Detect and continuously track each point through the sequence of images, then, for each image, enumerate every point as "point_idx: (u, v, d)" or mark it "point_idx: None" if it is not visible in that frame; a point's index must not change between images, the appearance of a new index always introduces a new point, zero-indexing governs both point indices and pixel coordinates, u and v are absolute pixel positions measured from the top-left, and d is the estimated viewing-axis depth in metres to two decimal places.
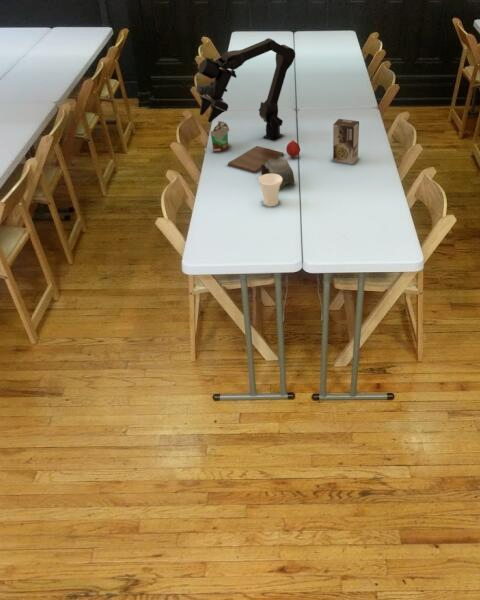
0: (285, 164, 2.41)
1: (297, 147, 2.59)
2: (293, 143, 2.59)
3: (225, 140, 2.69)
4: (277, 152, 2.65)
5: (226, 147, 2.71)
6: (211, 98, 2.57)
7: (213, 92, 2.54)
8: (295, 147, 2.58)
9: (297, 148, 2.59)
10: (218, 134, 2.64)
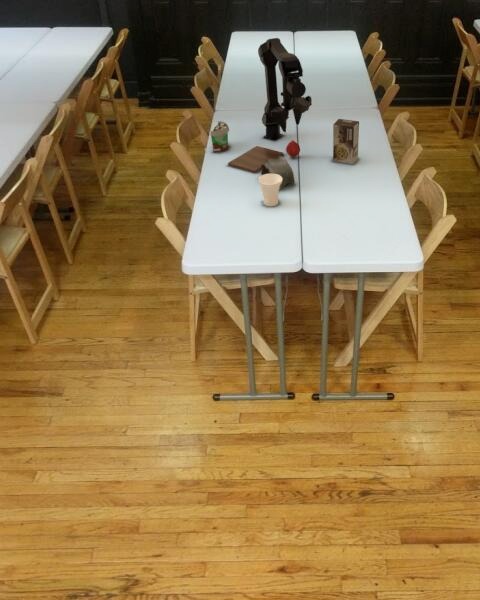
0: (285, 164, 2.41)
1: (297, 147, 2.59)
2: (293, 143, 2.59)
3: (225, 140, 2.69)
4: (277, 152, 2.65)
5: (226, 147, 2.71)
6: None
7: None
8: (295, 147, 2.58)
9: (297, 148, 2.59)
10: (218, 134, 2.64)
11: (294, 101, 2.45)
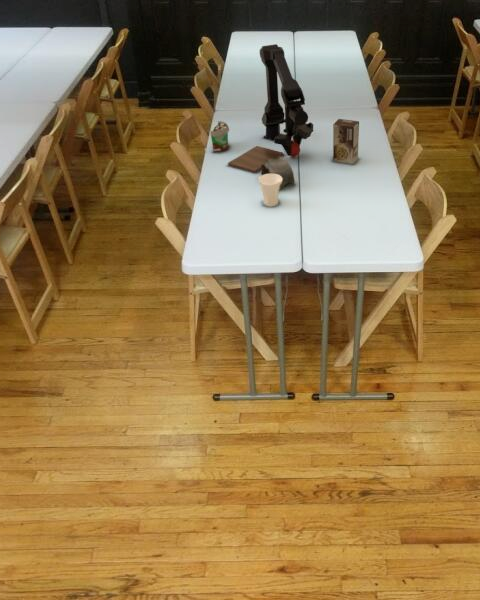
0: (285, 164, 2.41)
1: (297, 147, 2.59)
2: (293, 143, 2.59)
3: (225, 140, 2.69)
4: (277, 152, 2.65)
5: (226, 147, 2.71)
6: None
7: None
8: (295, 146, 2.58)
9: (297, 148, 2.59)
10: (218, 134, 2.64)
11: (296, 128, 2.52)
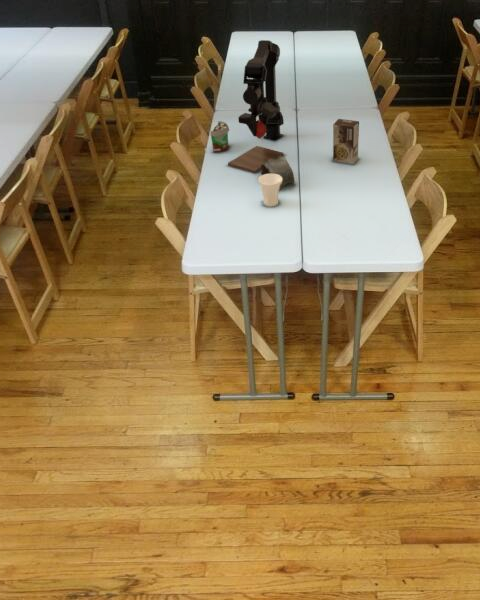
0: (285, 164, 2.41)
1: (263, 127, 2.52)
2: (259, 123, 2.51)
3: (225, 140, 2.69)
4: (277, 152, 2.65)
5: (226, 147, 2.71)
6: None
7: None
8: (260, 126, 2.51)
9: (263, 128, 2.52)
10: (218, 134, 2.64)
11: (261, 107, 2.44)
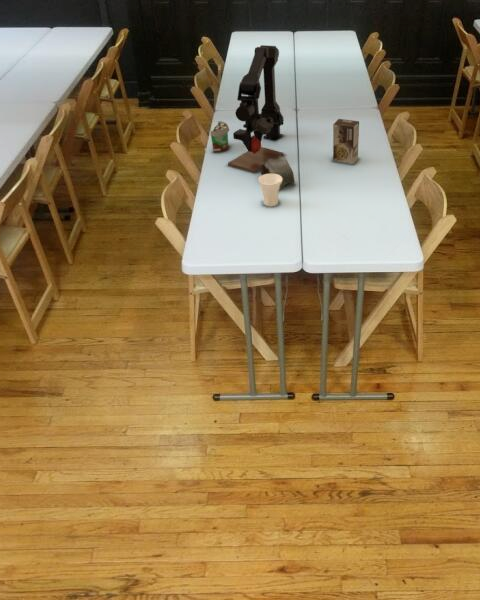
0: (285, 164, 2.41)
1: (258, 143, 2.55)
2: (254, 138, 2.55)
3: (225, 140, 2.69)
4: (277, 152, 2.65)
5: (226, 147, 2.71)
6: None
7: None
8: (255, 142, 2.55)
9: (258, 144, 2.55)
10: (218, 134, 2.64)
11: (256, 123, 2.48)
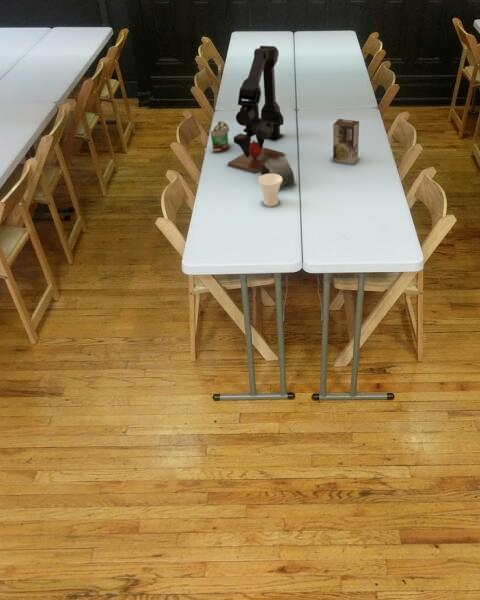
0: (285, 164, 2.41)
1: (258, 148, 2.57)
2: (254, 144, 2.56)
3: (225, 140, 2.69)
4: (277, 152, 2.65)
5: (226, 147, 2.71)
6: None
7: None
8: (256, 147, 2.56)
9: (258, 149, 2.57)
10: (218, 134, 2.64)
11: (256, 128, 2.49)
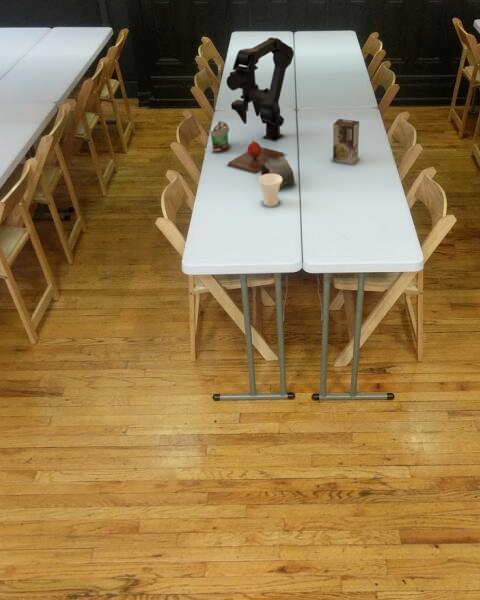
0: (285, 164, 2.41)
1: (258, 148, 2.57)
2: (254, 144, 2.56)
3: (225, 140, 2.69)
4: (277, 152, 2.65)
5: (226, 147, 2.71)
6: None
7: None
8: (256, 147, 2.56)
9: (258, 149, 2.57)
10: (218, 134, 2.64)
11: (253, 94, 2.54)
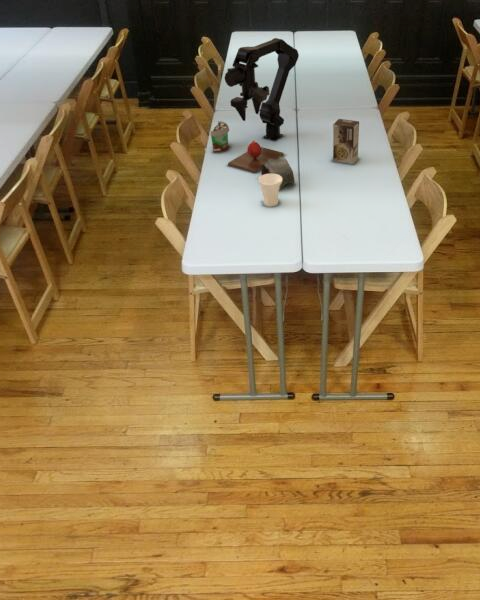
0: (285, 164, 2.41)
1: (258, 148, 2.57)
2: (254, 144, 2.56)
3: (225, 140, 2.69)
4: (277, 152, 2.65)
5: (226, 147, 2.71)
6: (253, 96, 2.61)
7: None
8: (256, 147, 2.56)
9: (258, 149, 2.57)
10: (218, 134, 2.64)
11: (252, 91, 2.56)
